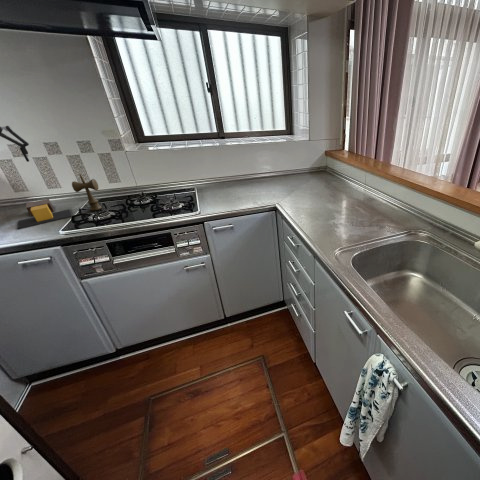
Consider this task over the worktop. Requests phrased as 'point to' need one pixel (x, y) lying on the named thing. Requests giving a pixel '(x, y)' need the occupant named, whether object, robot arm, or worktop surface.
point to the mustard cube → (41, 212)
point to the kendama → (88, 192)
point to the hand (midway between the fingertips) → (9, 163)
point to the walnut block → (38, 203)
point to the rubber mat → (33, 221)
